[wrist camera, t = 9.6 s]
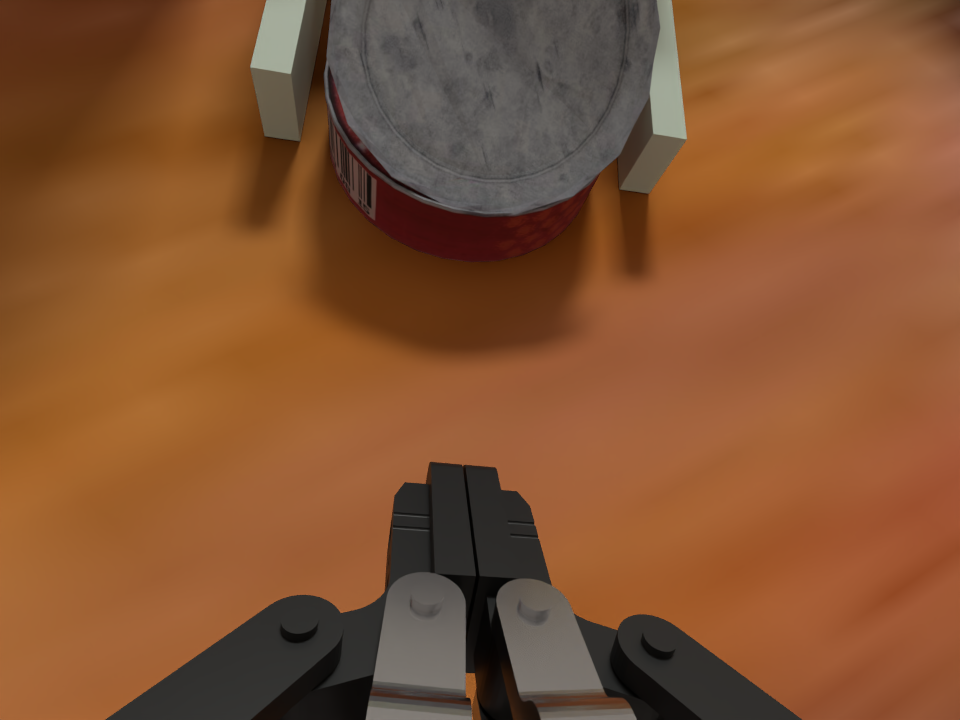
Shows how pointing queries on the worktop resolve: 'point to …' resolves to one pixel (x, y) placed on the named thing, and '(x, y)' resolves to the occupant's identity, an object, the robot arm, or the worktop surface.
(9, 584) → the worktop surface
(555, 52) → the canned food
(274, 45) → the rack
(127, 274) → the worktop surface
